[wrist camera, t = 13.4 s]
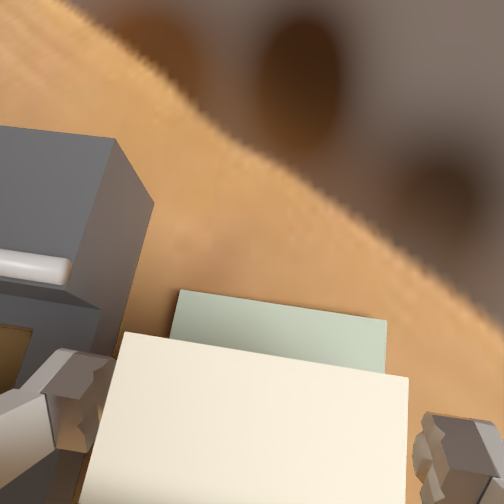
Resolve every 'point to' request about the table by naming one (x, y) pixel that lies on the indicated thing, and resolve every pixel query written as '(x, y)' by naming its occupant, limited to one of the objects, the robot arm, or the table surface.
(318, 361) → the mat
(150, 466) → the cream rectangular block
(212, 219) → the table surface
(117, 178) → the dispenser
